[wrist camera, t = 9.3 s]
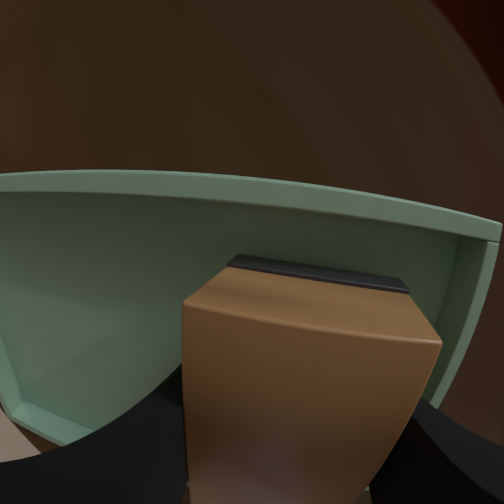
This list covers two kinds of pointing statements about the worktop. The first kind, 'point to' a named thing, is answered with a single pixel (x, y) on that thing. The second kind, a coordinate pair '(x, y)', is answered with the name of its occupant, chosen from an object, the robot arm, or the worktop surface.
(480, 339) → the worktop surface
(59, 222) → the tray
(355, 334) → the eraser
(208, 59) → the worktop surface
